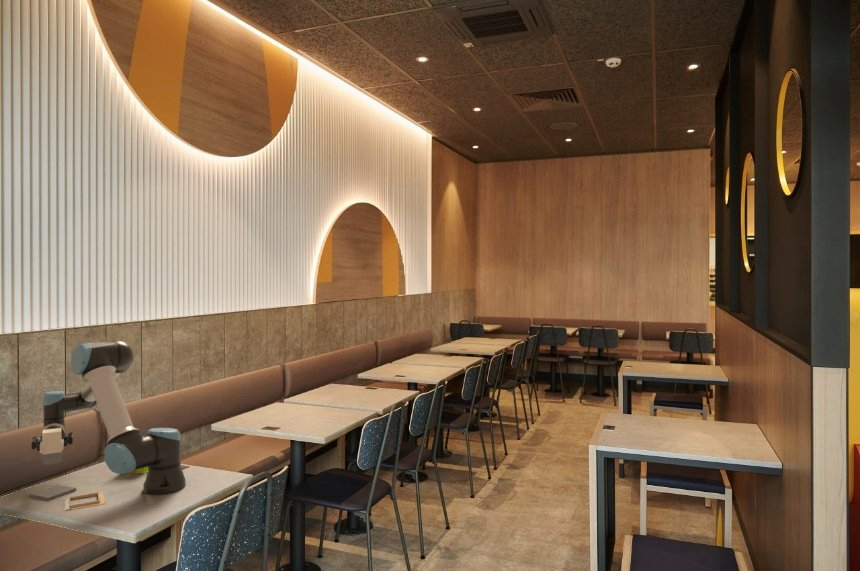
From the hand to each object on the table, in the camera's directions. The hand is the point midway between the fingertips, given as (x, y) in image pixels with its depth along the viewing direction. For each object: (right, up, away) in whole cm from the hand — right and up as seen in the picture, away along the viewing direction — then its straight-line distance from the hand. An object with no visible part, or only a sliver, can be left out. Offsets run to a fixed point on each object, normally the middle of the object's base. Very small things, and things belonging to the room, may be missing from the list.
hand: (51, 448), depth 219 cm
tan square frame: (+15, -19, -4) cm, 24 cm away
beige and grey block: (-3, -6, +4) cm, 8 cm away
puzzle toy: (+17, -18, +32) cm, 41 cm away
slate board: (-2, -19, +5) cm, 19 cm away
